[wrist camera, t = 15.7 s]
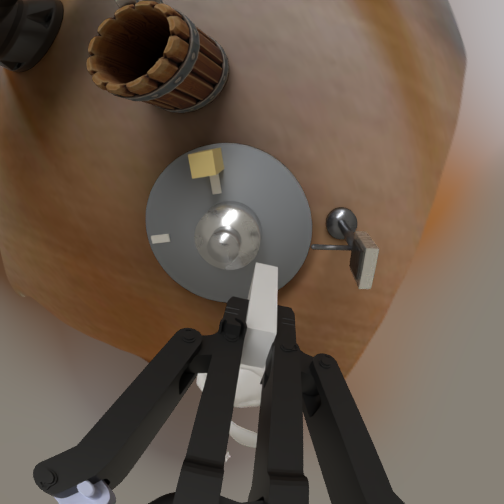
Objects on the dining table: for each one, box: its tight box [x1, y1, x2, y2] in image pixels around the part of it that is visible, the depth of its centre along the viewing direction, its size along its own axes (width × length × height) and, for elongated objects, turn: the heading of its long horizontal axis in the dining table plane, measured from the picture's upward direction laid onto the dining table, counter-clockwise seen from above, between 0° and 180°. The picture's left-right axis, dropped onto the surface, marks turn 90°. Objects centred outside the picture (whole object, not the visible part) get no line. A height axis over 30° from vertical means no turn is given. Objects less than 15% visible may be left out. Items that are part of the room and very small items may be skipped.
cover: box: [194, 201, 262, 270], centre depth 29 cm, size 7×7×5 cm
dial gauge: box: [311, 207, 379, 289], centre depth 28 cm, size 7×4×12 cm, turn 91°
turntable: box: [146, 143, 312, 303], centre depth 31 cm, size 20×20×6 cm
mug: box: [86, 0, 229, 113], centre depth 19 cm, size 16×11×15 cm
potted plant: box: [197, 364, 266, 461], centre depth 32 cm, size 13×12×25 cm
